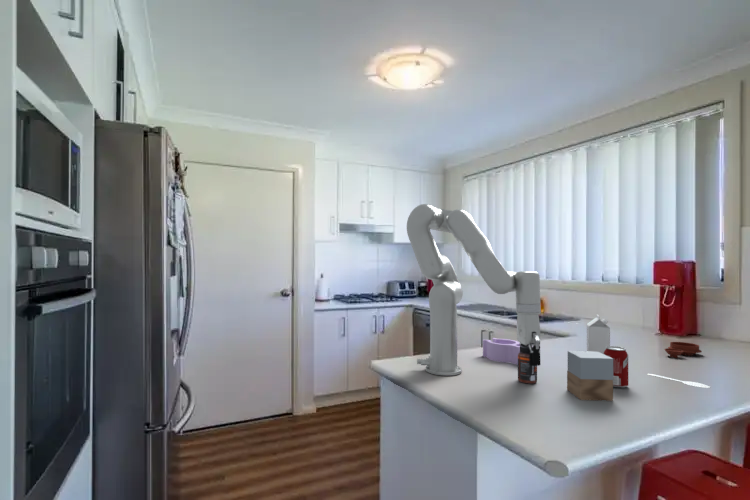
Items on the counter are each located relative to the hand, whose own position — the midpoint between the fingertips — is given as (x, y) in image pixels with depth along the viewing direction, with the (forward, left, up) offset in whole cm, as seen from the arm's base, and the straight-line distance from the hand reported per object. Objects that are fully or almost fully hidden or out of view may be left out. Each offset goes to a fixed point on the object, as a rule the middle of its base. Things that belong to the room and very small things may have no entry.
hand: (529, 361), depth 133 cm
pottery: (+78, +46, -7) cm, 91 cm away
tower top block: (+14, -12, -1) cm, 18 cm away
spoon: (+50, +6, -7) cm, 51 cm away
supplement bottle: (-1, 0, -7) cm, 7 cm away
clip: (+1, +30, -7) cm, 31 cm away
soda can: (+26, -2, -7) cm, 27 cm away
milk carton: (+33, +24, -7) cm, 42 cm away
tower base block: (+13, -12, -7) cm, 19 cm away
